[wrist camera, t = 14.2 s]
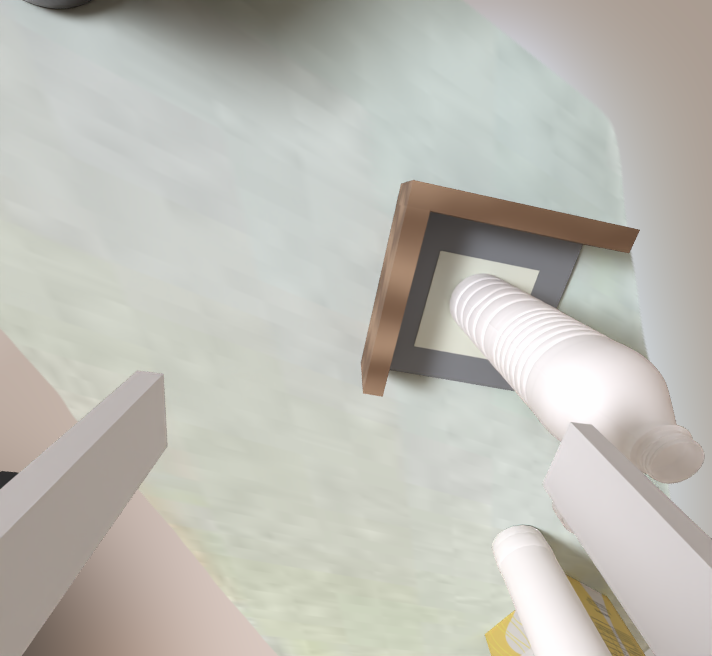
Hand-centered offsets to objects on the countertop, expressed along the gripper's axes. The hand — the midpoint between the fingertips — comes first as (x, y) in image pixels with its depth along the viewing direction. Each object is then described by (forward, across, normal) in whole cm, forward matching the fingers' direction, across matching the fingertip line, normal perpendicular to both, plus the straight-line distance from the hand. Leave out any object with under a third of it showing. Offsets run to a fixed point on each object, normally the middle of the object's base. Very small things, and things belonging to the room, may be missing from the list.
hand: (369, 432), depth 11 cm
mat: (+28, +14, -3) cm, 31 cm away
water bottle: (+27, +13, -3) cm, 30 cm away
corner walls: (+28, +13, -2) cm, 31 cm away
